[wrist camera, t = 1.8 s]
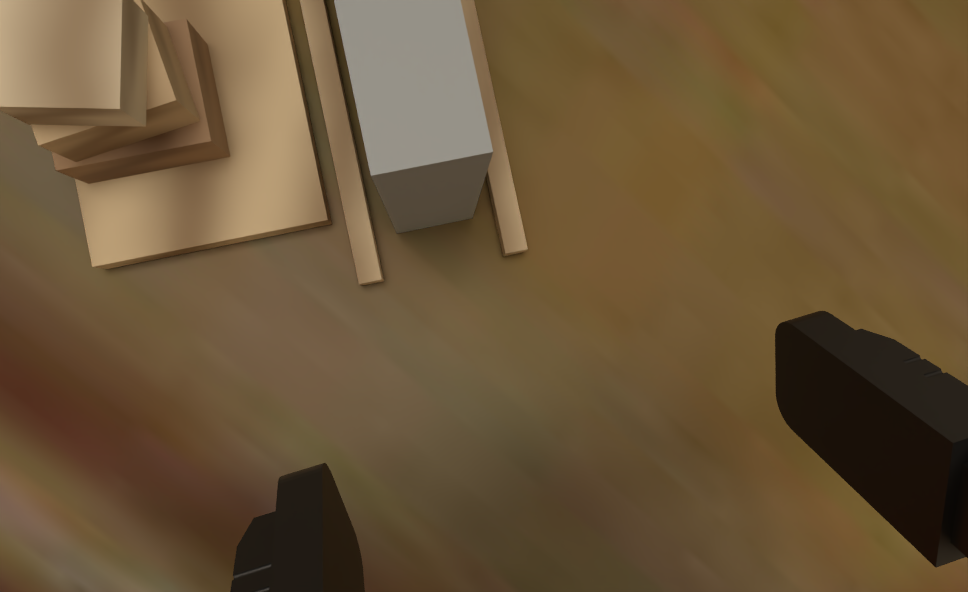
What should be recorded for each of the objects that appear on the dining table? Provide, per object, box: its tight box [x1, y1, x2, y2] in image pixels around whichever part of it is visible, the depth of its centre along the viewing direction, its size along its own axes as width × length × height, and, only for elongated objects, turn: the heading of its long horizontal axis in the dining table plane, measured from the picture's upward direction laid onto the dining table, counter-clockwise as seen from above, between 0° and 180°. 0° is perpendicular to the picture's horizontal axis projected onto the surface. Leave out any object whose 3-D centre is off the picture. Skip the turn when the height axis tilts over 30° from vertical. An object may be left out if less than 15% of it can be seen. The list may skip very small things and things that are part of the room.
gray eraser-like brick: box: [334, 0, 493, 233], centre depth 25 cm, size 4×14×12 cm, turn 12°
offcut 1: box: [0, 0, 148, 127], centre depth 23 cm, size 4×4×2 cm
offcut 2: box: [31, 0, 200, 162], centre depth 26 cm, size 5×4×2 cm
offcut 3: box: [52, 19, 230, 184], centre depth 28 cm, size 6×5×2 cm
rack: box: [75, 0, 528, 286], centre depth 29 cm, size 19×19×4 cm
